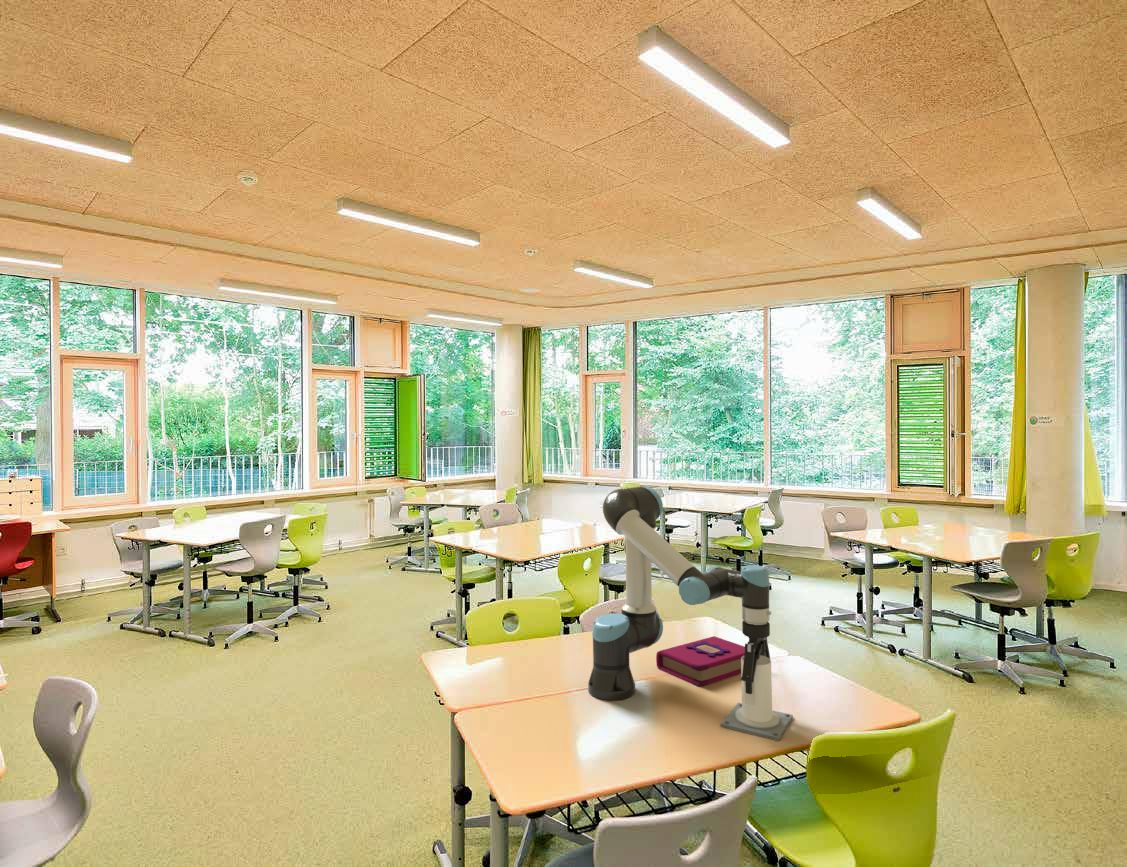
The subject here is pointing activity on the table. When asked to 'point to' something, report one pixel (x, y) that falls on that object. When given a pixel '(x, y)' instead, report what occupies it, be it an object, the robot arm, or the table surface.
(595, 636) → the robot arm
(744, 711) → the cup
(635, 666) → the table surface
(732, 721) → the flange board
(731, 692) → the table surface
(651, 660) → the table surface
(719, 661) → the book
